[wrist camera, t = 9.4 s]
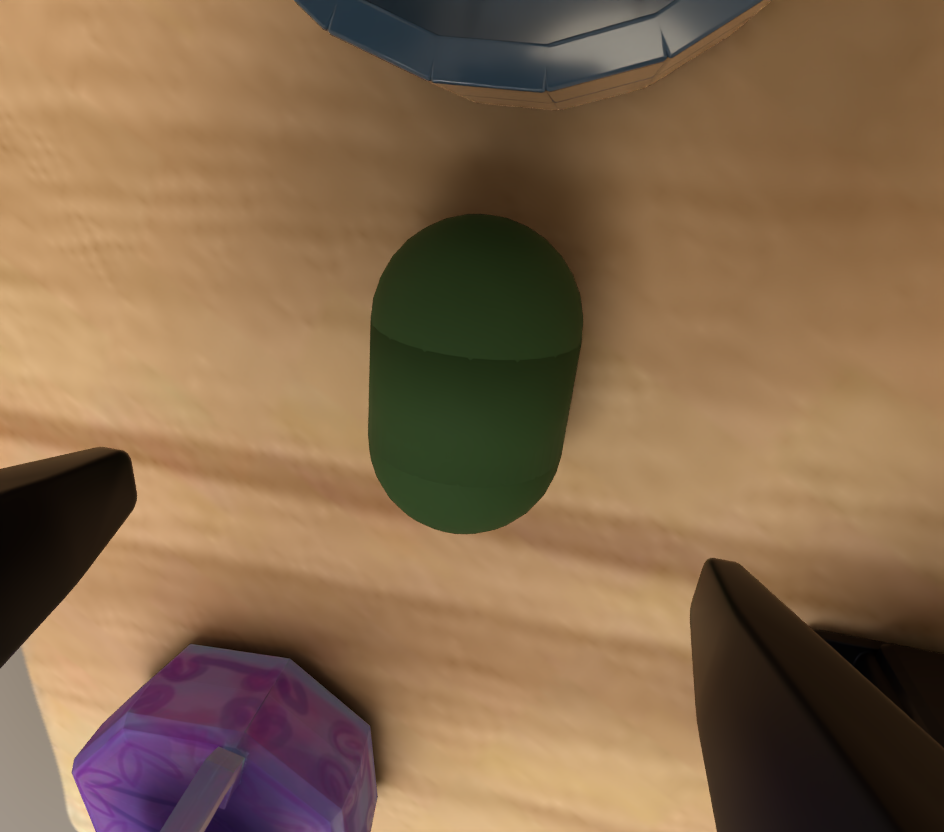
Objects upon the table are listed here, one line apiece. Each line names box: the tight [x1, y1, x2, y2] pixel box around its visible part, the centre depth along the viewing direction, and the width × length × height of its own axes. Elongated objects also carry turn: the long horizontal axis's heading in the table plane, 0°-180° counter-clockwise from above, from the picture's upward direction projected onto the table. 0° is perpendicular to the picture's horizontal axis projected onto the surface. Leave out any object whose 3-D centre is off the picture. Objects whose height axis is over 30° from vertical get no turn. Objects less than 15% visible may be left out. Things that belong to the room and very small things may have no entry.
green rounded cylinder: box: [368, 214, 583, 534], centre depth 15 cm, size 8×5×5 cm, turn 174°
